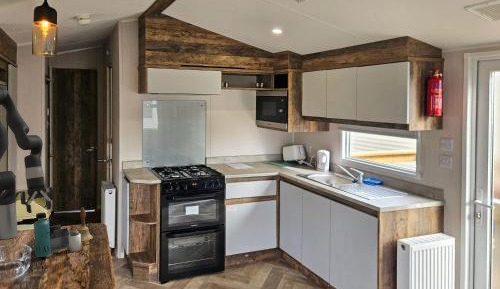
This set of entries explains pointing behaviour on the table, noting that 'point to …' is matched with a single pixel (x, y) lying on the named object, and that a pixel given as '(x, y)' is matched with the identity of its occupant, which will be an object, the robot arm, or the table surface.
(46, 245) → the beverage bottle
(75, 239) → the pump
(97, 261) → the table surface
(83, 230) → the hand bell
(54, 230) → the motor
